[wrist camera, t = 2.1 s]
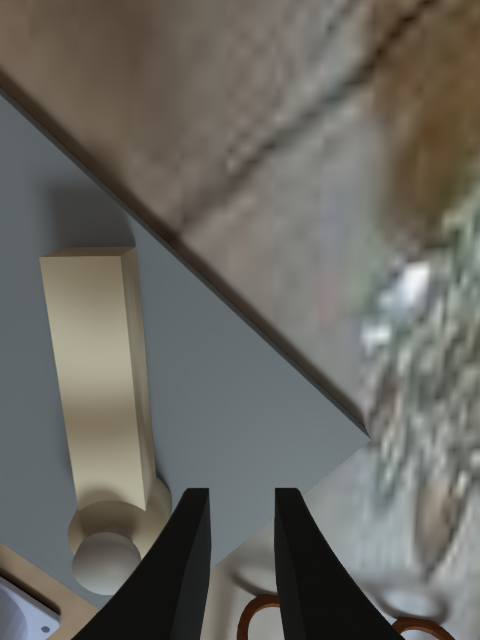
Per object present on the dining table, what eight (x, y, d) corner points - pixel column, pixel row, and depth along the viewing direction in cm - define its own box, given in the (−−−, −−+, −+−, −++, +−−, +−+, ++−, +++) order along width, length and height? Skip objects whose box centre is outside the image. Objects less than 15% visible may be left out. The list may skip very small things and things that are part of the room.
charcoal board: (136, 615, 26) (132, 632, 25) (-278, 328, 21) (-303, 335, 20) (365, 428, 22) (370, 439, 21) (-80, 12, 17) (-99, 2, 16)
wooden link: (175, 537, 23) (160, 609, 19) (91, 537, 23) (60, 608, 19) (153, 246, 18) (128, 263, 14) (48, 247, 18) (-4, 265, 15)
